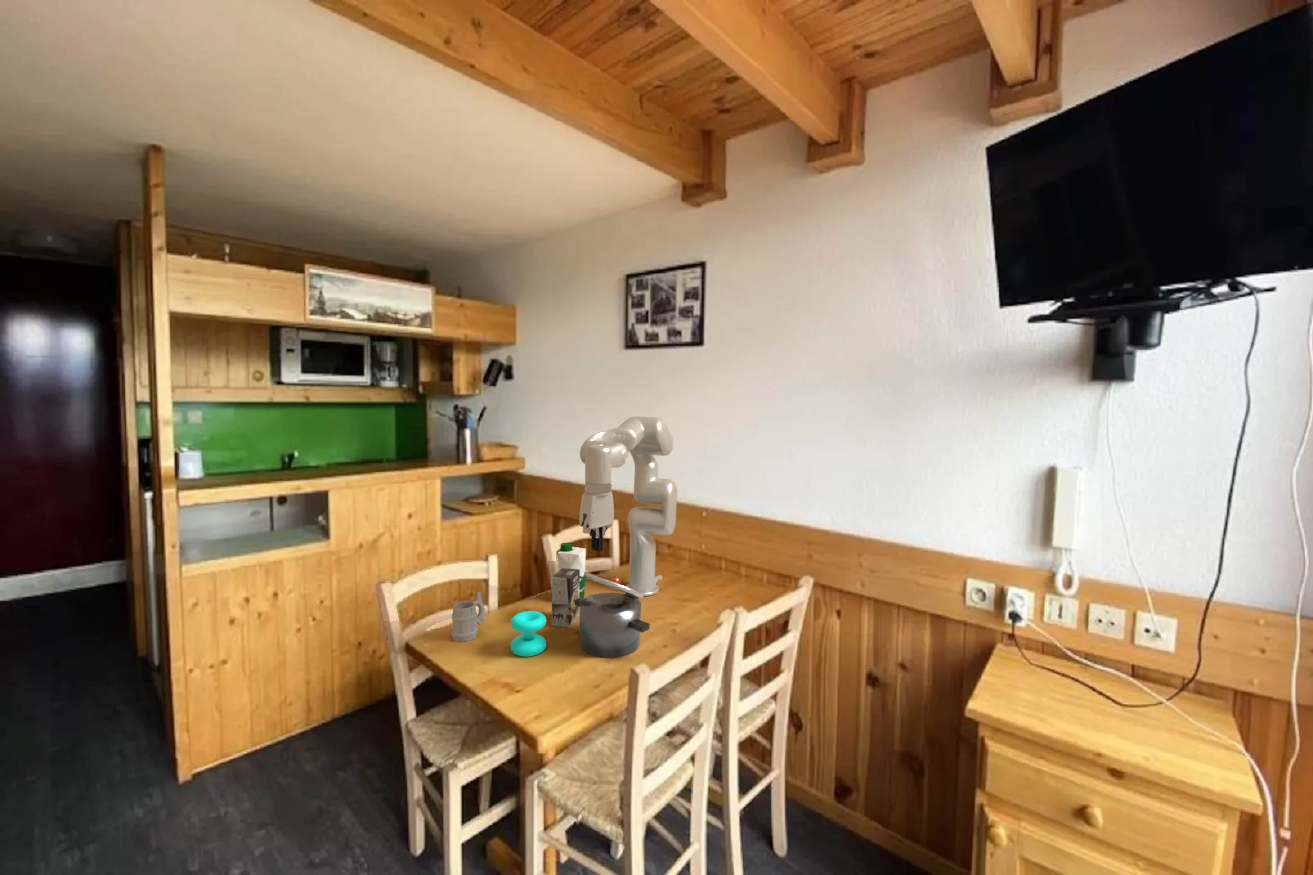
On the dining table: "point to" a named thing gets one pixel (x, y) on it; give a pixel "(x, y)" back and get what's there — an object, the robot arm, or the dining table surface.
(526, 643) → the donuts
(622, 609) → the cooker pot
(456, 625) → the mug
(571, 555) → the milk carton
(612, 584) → the lid
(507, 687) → the dining table surface
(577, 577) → the coffee box
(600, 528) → the robot arm
